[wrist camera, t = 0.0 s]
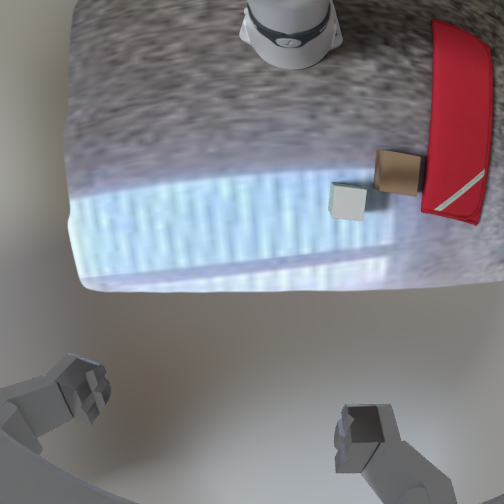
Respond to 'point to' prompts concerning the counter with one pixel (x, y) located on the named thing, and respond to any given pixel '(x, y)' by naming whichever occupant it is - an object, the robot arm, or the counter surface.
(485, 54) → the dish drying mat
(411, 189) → the walnut block
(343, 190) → the sage tin
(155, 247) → the counter surface
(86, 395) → the robot arm
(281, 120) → the counter surface
